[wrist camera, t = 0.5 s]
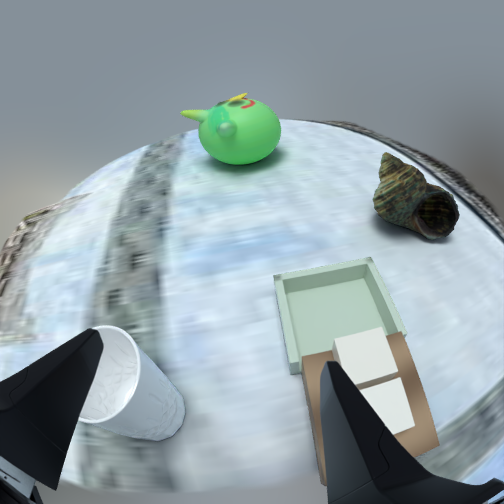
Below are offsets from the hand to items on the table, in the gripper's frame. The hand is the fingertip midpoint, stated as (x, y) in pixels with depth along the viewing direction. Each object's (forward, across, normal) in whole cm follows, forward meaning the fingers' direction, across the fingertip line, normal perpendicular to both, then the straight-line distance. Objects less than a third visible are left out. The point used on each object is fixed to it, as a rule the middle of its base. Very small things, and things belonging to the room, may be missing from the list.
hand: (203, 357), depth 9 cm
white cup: (+5, +7, +17) cm, 19 cm away
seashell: (+27, -22, +4) cm, 36 cm away
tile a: (+3, -11, +9) cm, 15 cm away
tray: (+15, -10, +10) cm, 20 cm away
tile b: (+7, -10, +8) cm, 15 cm away
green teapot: (+53, +4, +1) cm, 54 cm away
